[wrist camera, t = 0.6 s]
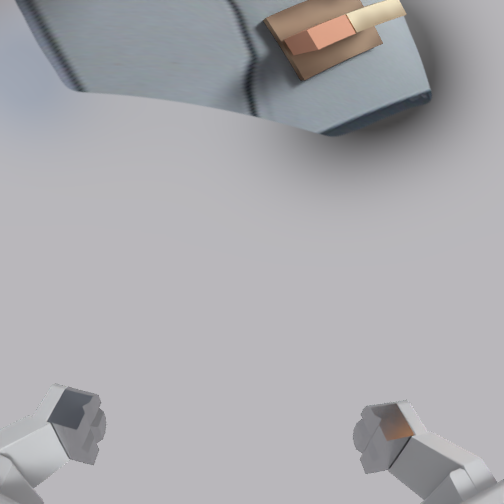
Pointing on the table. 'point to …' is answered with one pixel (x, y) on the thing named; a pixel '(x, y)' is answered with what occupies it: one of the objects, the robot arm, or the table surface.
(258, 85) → the table surface
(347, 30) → the block
